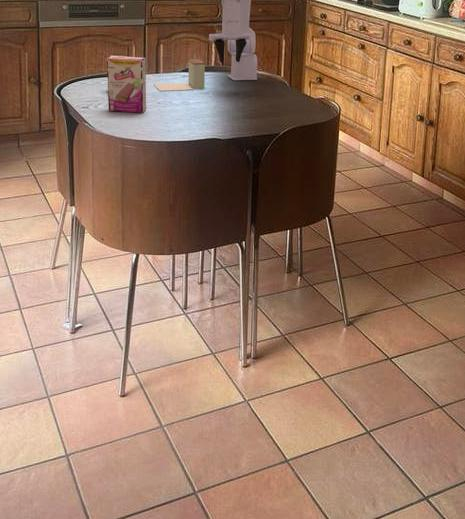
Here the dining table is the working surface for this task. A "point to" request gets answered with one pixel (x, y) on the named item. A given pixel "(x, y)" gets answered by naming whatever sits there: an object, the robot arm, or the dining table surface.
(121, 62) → the candy bar box
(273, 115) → the dining table surface
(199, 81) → the sage block
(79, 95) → the dining table surface
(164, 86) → the mat
